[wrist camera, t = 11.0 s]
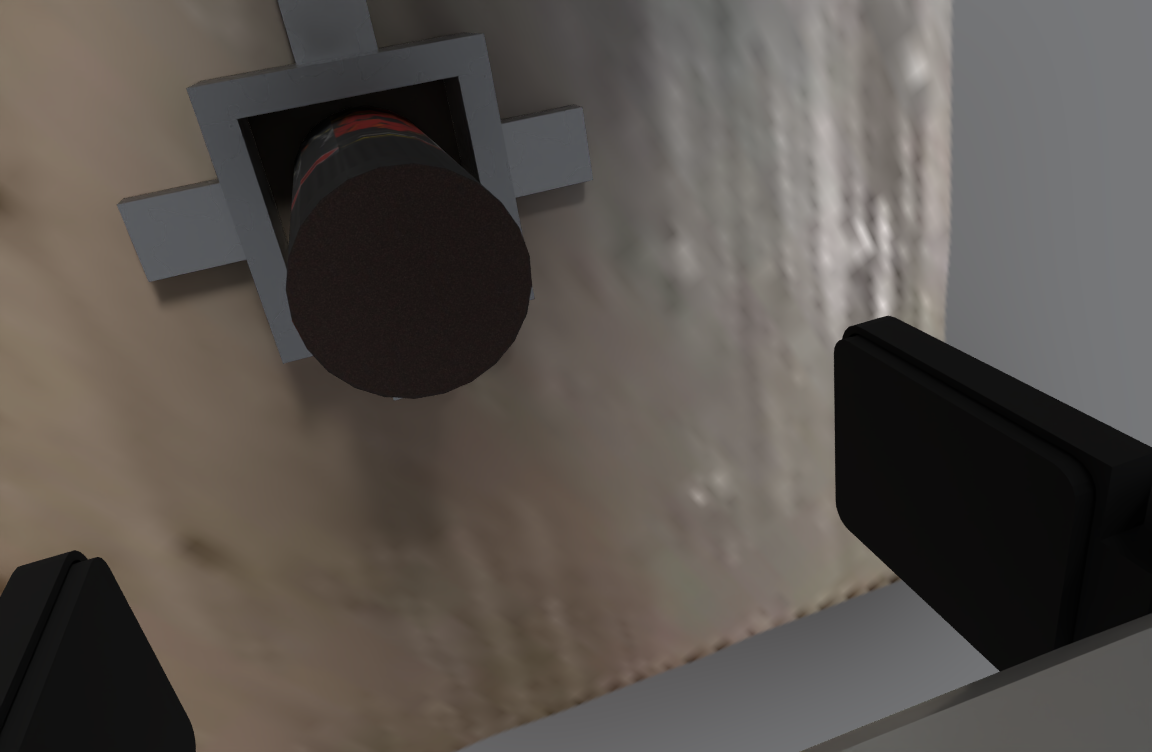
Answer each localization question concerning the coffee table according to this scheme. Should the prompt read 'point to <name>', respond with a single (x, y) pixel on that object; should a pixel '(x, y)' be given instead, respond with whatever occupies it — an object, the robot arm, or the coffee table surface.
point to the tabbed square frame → (324, 73)
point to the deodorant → (399, 259)
